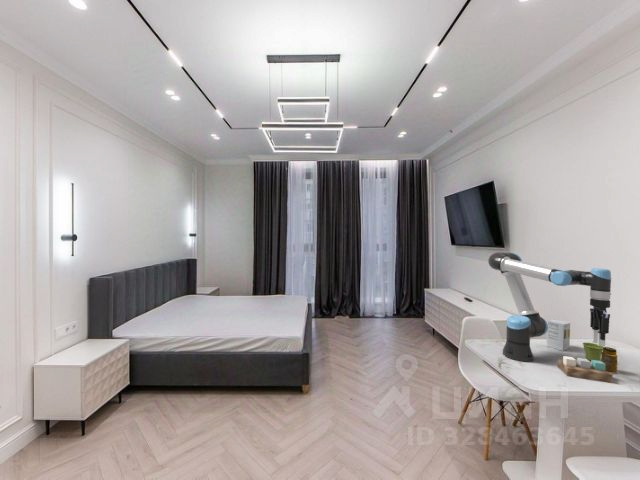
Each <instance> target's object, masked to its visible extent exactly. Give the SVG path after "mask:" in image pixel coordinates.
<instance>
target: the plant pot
mask: <svg viewBox="0 0 640 480" xmlns="http://www.w3.org/2000/svg"><path fill="white" fill-rule="evenodd" d="M581 344H582V345H583V348H584V354H585V355H584V357H585V359H587V360H588V361H591V360H597V361H601V358H602V352H603V347H604V346H598V343H593V342H582V343H581Z"/></svg>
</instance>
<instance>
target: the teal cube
mask: <svg viewBox="0 0 640 480" xmlns="http://www.w3.org/2000/svg"><path fill="white" fill-rule="evenodd" d="M590 364H591V367H592V368H593V369H594V370H599V371H605V363H603V362H602V361H601V360H600V361H597V360H590Z"/></svg>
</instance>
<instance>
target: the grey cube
mask: <svg viewBox="0 0 640 480" xmlns="http://www.w3.org/2000/svg"><path fill="white" fill-rule="evenodd" d="M576 362H577V366H578V367H580V368H585V369H590V364H591V360H587V359H586V358H580V357H577V358H576Z"/></svg>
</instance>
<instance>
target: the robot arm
mask: <svg viewBox="0 0 640 480" xmlns="http://www.w3.org/2000/svg"><path fill="white" fill-rule="evenodd" d="M488 265H489V266H490V268H491V269H493V270H495V271H499V272H500V273H501V275H502V276H504V277H505V279H506V283H507V285H508V287H509V291H510V293H511V295H512V299H513V301H514V304H515V306H516V307H515V308H516V309H517V311H518V314H517V315H515V314H514V315H509V316H508V317H507V320H506V340H505V343H504V346H503V348H502V355H503V356H504V355H505V358H508V359H511V360H514V361H520V362H533V361H534V354H533V352H532V351H533V350H532V348H531V338H538V337H541V336H543V335H546V334H547V330H548V325H547V320H546V319H545V318H543V317H541V316H540V313H539V312H538V311H537V310H535V308H534V305H533V303H532V300H531V298H530V295H529V293H528V291H527V288H526V284H525V282H524V279H523V277H522V276H526V277H530V278H533V279H538V280H542V281H545V282H549V283H552V284H553V285H555V286H561V287H566V286H575V285H578V286H587V287H589V297H590V298H589V305H590V307H591V306H592V308H589V312H590V319H589V320H590V326H589V327H590V328H591V329H592V343H594V344H598V346H603V347H606V334H609V333H610V319H611V314H610V313H608V312H607V309H609V308H611V295H612V293H611V288H612V286H611V285H612V274H611V270H610V269H608V268H607V269H606V268H591V269H590V271H584V270H583V271H582V270H575V269H565V270H562V269H557V268H552V267H548V266H544V265H538V264H535V263H530V262H526V261H523V260H522V258H521V257H520V255H518V254H517V253H514V252H510V251H509V252H508V251H507V252H503V251H502V252H494V253H492V254H491V255H490V256H489V257H488Z"/></svg>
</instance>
